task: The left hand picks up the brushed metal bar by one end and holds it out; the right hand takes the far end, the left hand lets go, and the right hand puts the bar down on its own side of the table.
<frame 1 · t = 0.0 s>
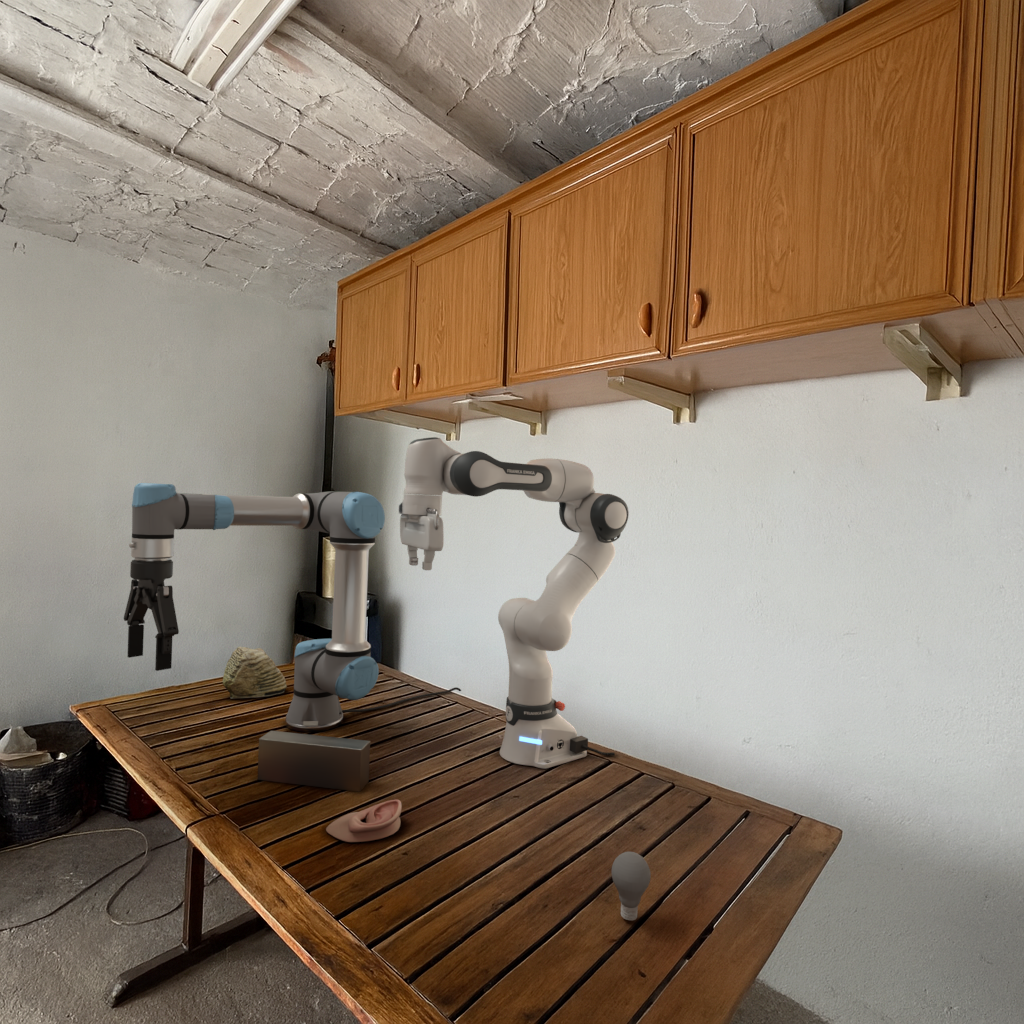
left hand: (148, 662, 129), 28 cm above the table, tool pointing down, fingers open, 13 cm apart
right hand: (419, 567, 146), 48 cm above the table, tool pointing down, fingers open, 8 cm apart
bar: (313, 780, 141), on the table
anatomical model: (364, 828, 122), on the table
light bulb: (628, 919, 99), on the table
fossil: (254, 694, 198), on the table
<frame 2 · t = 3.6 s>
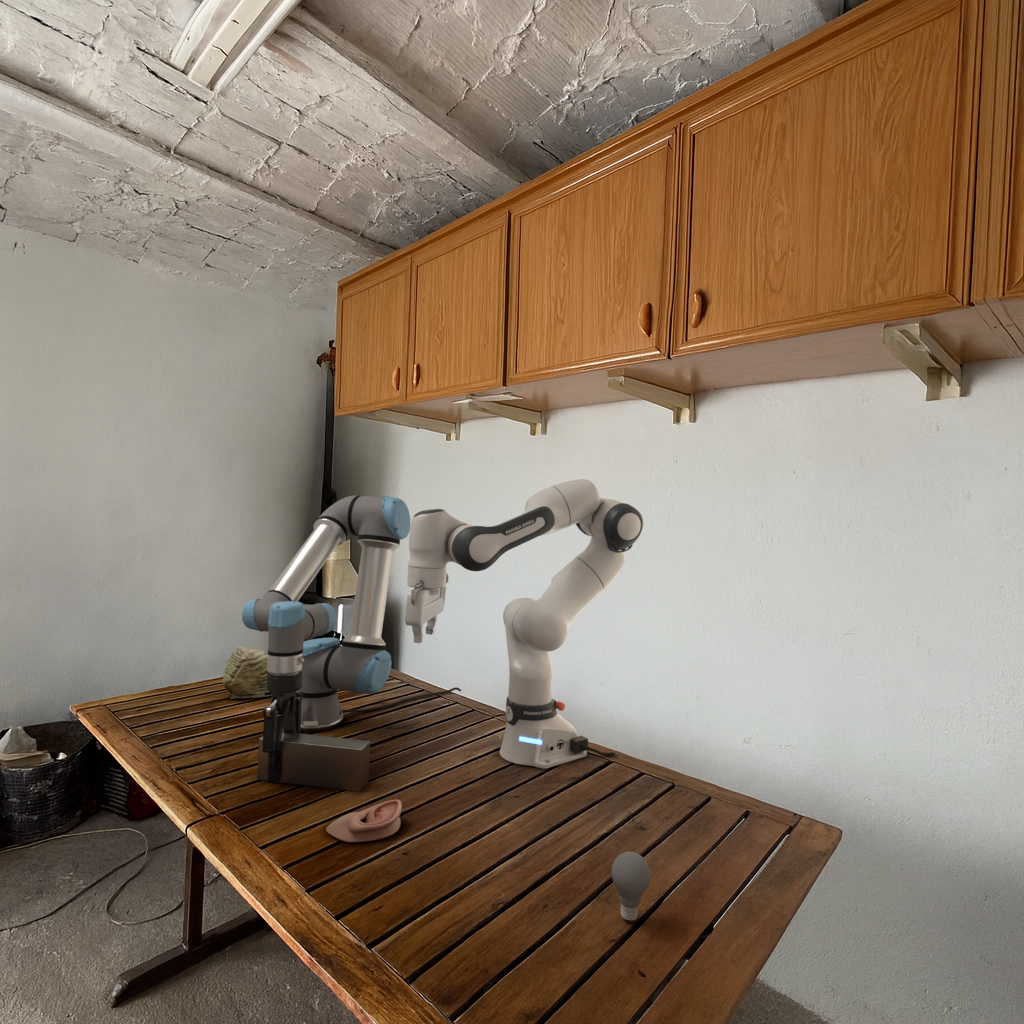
left hand: (280, 774, 142), 1 cm above the table, tool pointing down, fingers closed on bar, 5 cm apart
right hand: (424, 638, 147), 31 cm above the table, tool pointing down, fingers open, 8 cm apart
bar: (313, 780, 141), on the table, touching left hand
everything else where it was.
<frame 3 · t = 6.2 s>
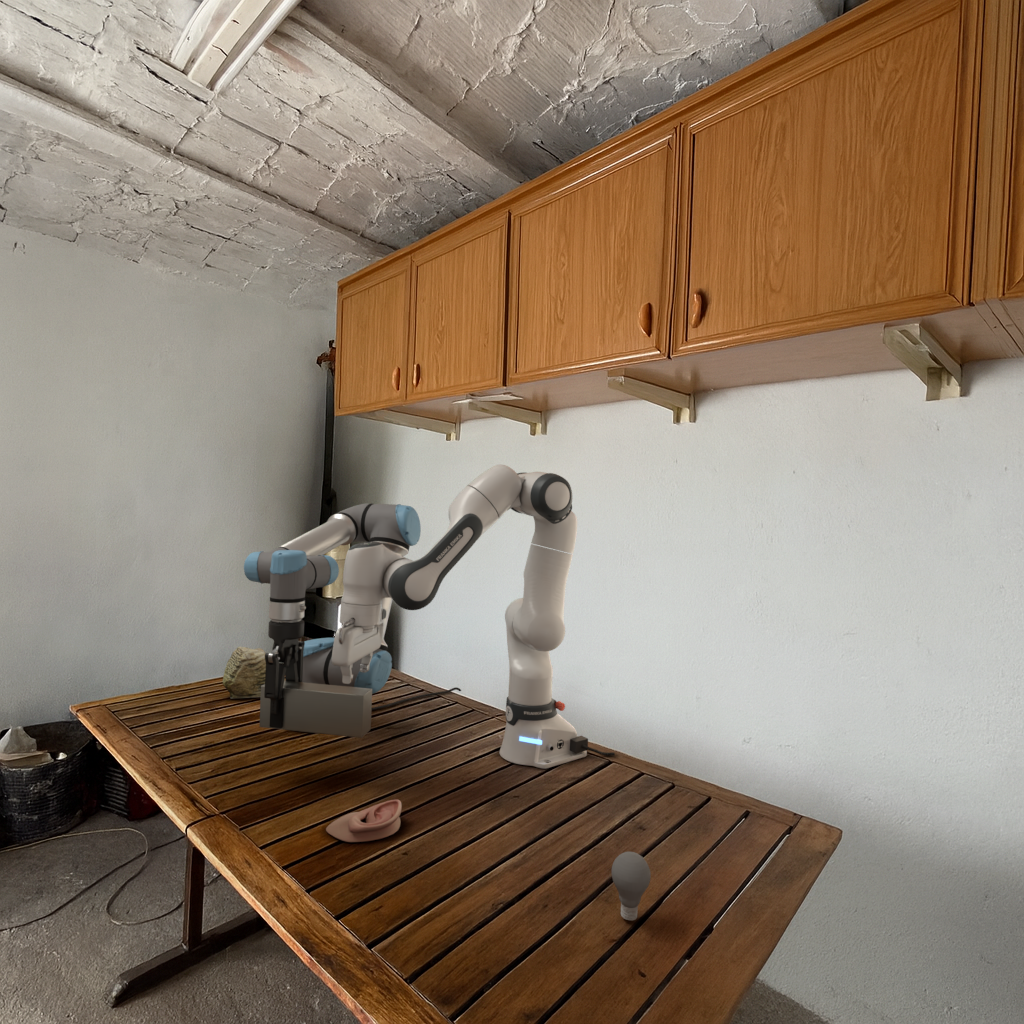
left hand: (282, 722, 142), 12 cm above the table, tool pointing down, fingers closed on bar, 5 cm apart
right hand: (356, 677, 140), 24 cm above the table, tool pointing down, fingers open, 8 cm apart
bar: (315, 728, 141), point 12 cm above the table, touching left hand
everything else where it was.
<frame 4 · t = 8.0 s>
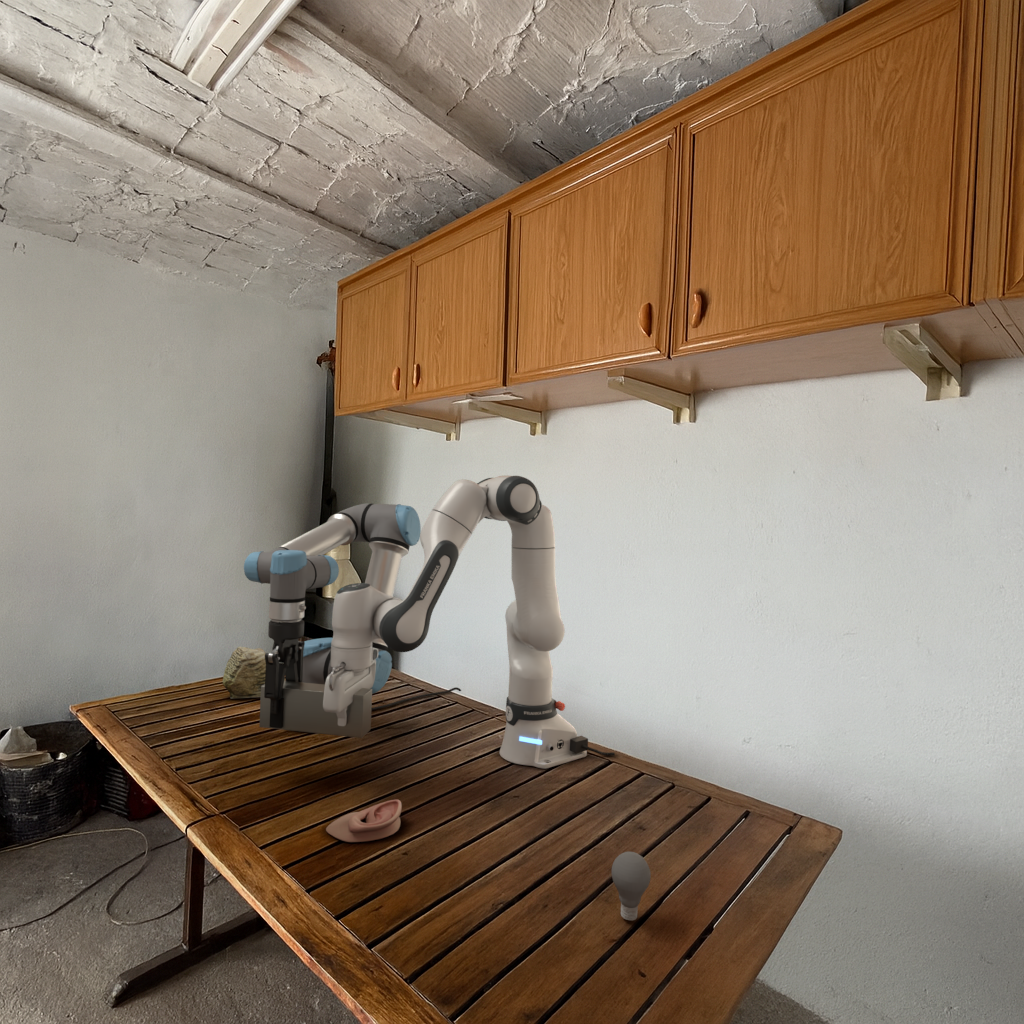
left hand: (282, 722, 142), 12 cm above the table, tool pointing down, fingers closed on bar, 5 cm apart
right hand: (349, 719, 140), 14 cm above the table, tool pointing down, fingers closed on bar, 5 cm apart
bar: (315, 728, 141), point 12 cm above the table, touching left hand, right hand
everything else where it was.
when the left hand's fingers open (12 cm above the table, at t = 8.9 s): bar stays where it is, held by the right hand.
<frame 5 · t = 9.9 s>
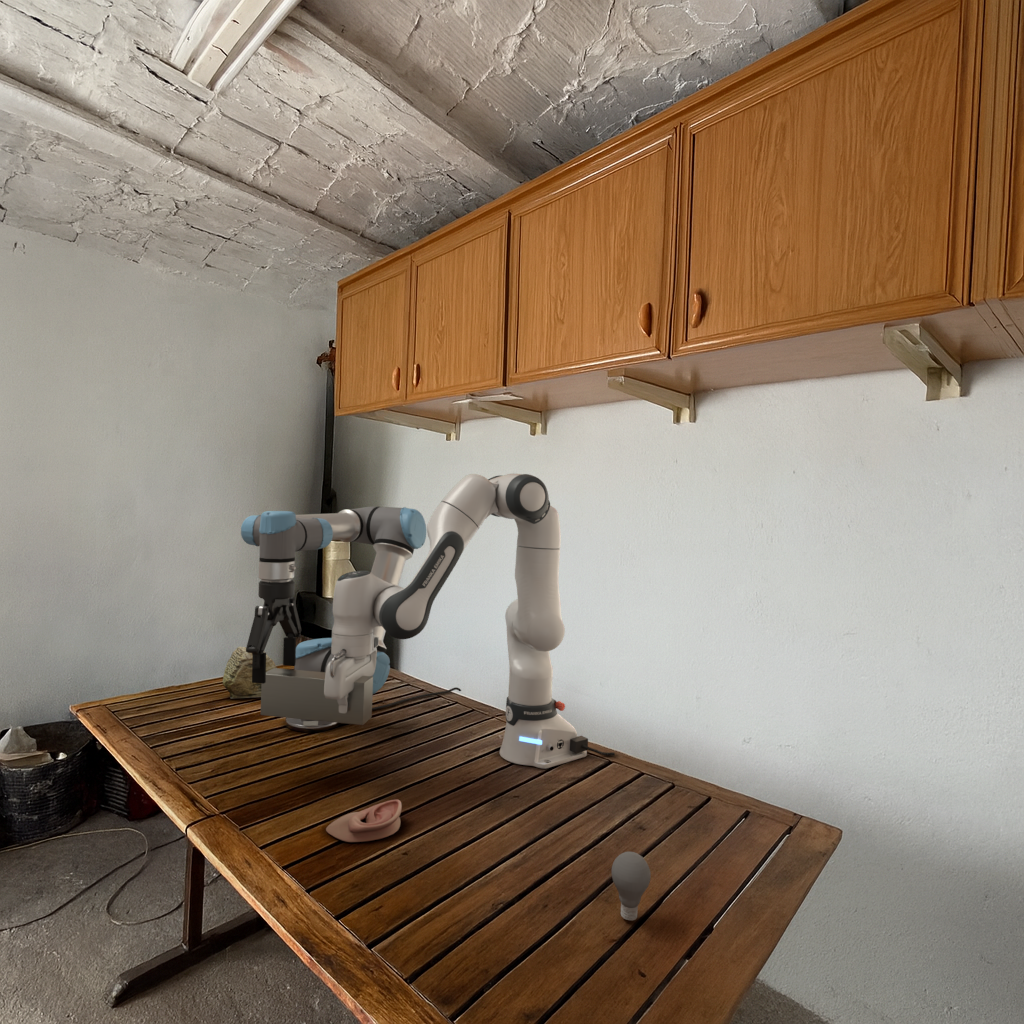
left hand: (274, 673, 143), 23 cm above the table, tool pointing down, fingers open, 13 cm apart
right hand: (350, 707, 140), 17 cm above the table, tool pointing down, fingers closed on bar, 5 cm apart
bar: (316, 716, 141), point 14 cm above the table, touching right hand
everything else where it was.
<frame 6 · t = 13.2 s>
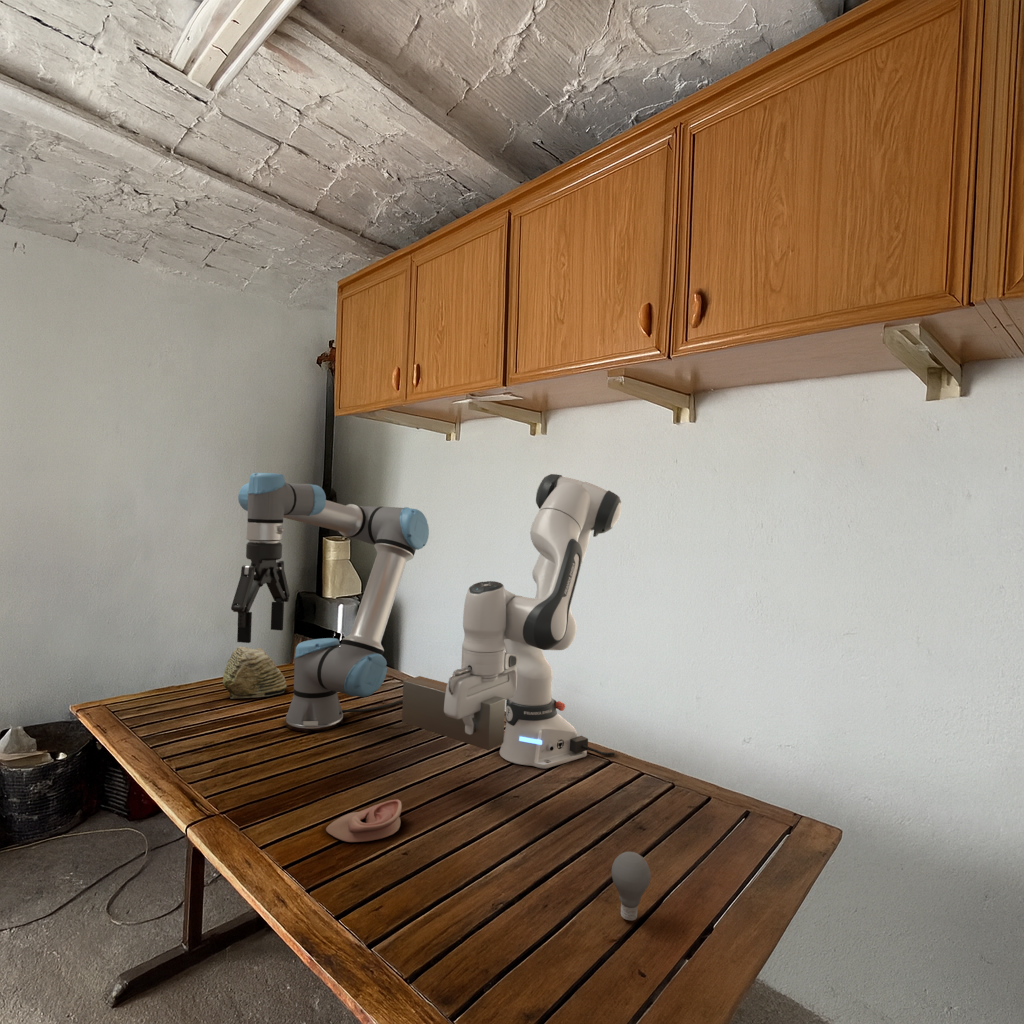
left hand: (261, 635, 143), 31 cm above the table, tool pointing down, fingers open, 13 cm apart
right hand: (480, 728, 130), 17 cm above the table, tool pointing down, fingers closed on bar, 5 cm apart
bar: (450, 732, 135), point 15 cm above the table, touching right hand
everything else where it was.
when the right hand's fingers open (4 cm above the table, at t = 18.4 s): bar stays where it is, on the table.
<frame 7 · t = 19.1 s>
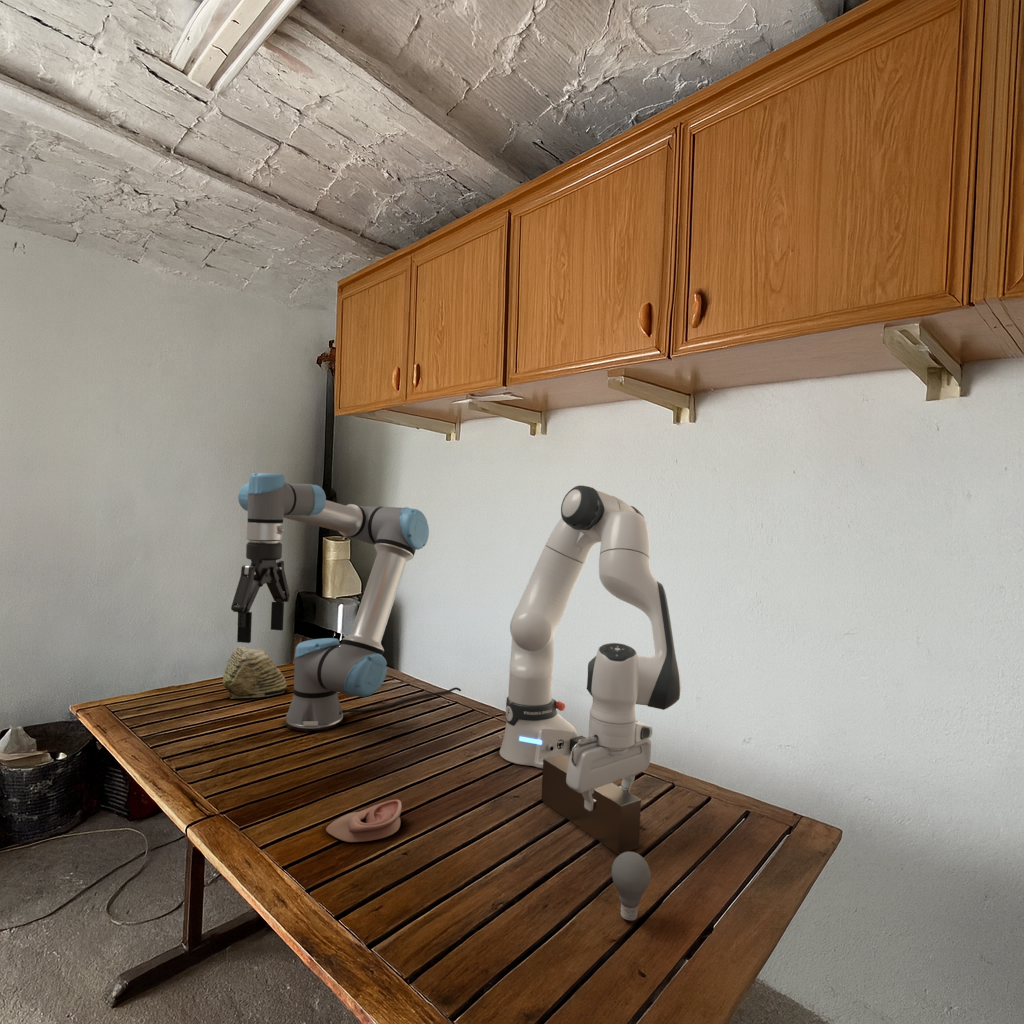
left hand: (261, 635, 143), 31 cm above the table, tool pointing down, fingers open, 13 cm apart
right hand: (607, 802, 121), 7 cm above the table, tool pointing down, fingers open, 8 cm apart
bar: (586, 822, 128), on the table, touching right hand
everything else where it was.
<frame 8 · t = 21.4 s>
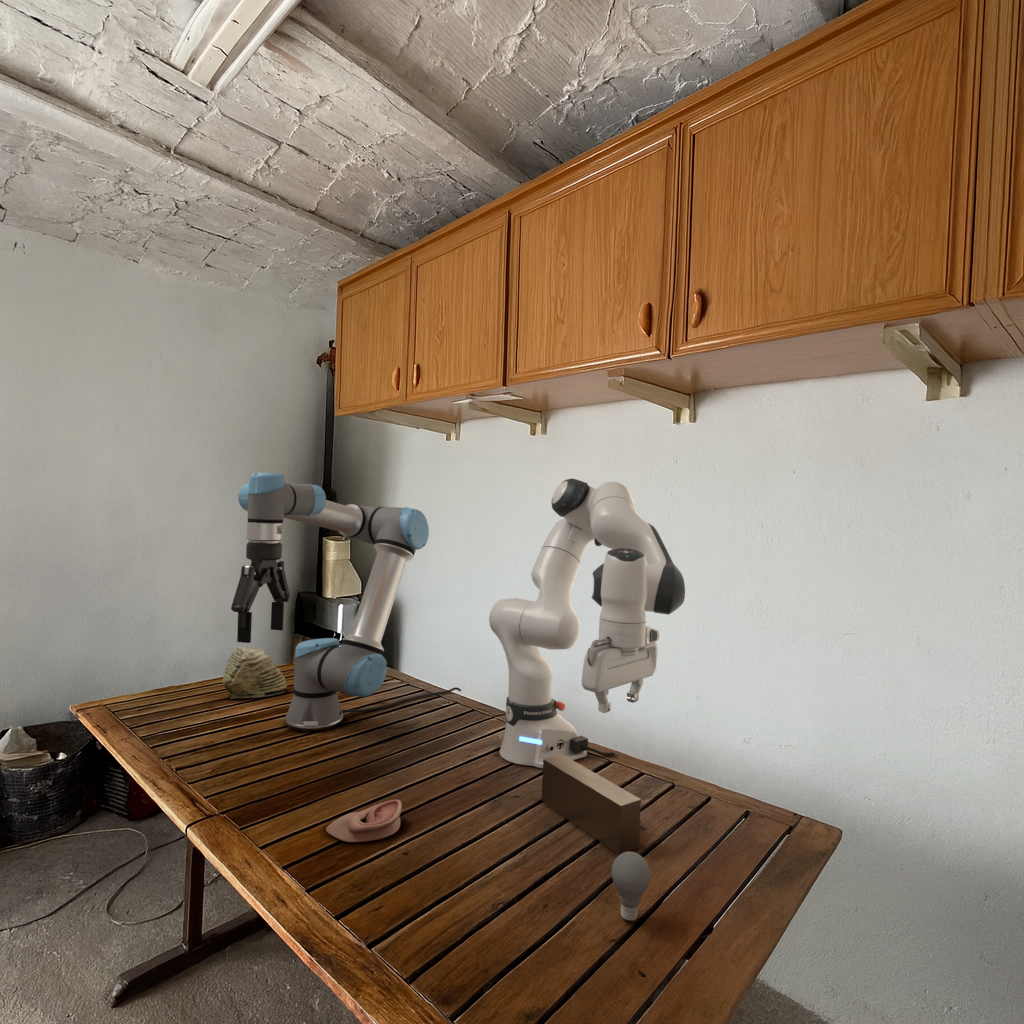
left hand: (261, 635, 143), 31 cm above the table, tool pointing down, fingers open, 13 cm apart
right hand: (618, 706, 121), 26 cm above the table, tool pointing down, fingers open, 8 cm apart
bar: (586, 822, 128), on the table
everything else where it was.
at the end: bar inside the target area (7.5 cm from its centre), on the table; the left hand is holding nothing; the right hand is holding nothing; bar at rest at the end (0.0 cm/s) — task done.
